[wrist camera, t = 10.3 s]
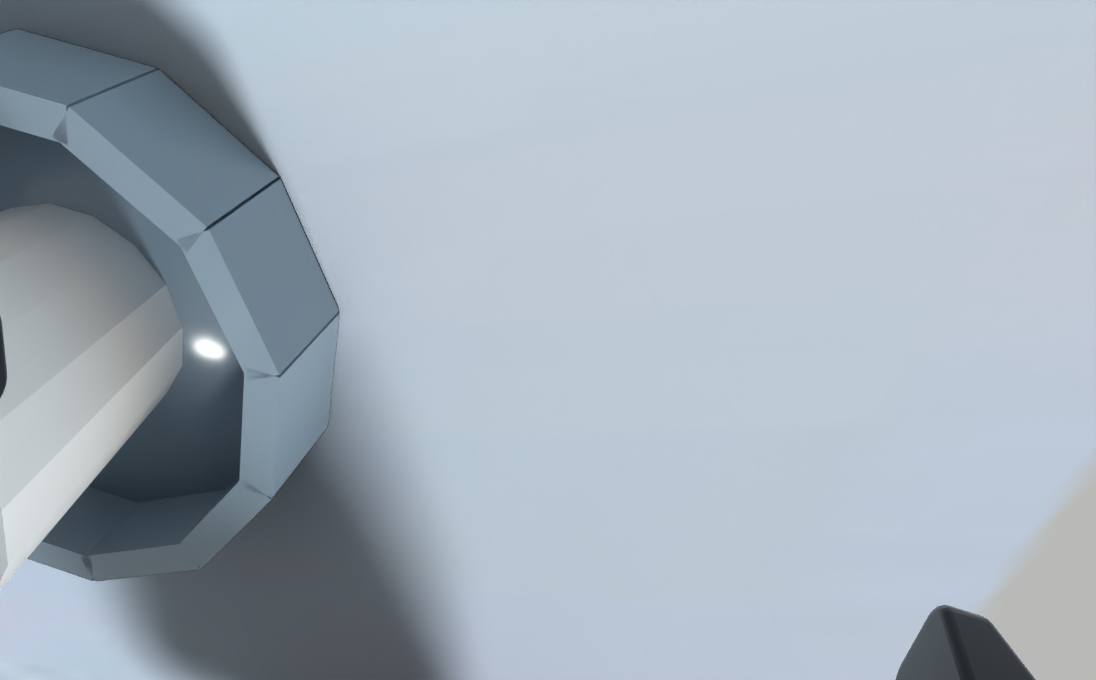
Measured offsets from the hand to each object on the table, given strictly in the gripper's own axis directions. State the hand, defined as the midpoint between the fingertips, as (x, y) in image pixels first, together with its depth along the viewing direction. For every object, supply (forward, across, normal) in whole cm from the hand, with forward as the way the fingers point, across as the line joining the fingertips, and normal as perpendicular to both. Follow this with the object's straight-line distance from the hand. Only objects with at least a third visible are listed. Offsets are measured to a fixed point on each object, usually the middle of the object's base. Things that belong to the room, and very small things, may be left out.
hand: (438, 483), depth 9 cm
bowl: (+12, +12, +8) cm, 19 cm away
